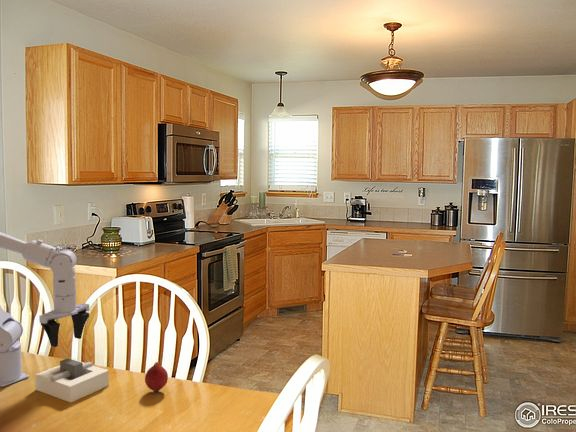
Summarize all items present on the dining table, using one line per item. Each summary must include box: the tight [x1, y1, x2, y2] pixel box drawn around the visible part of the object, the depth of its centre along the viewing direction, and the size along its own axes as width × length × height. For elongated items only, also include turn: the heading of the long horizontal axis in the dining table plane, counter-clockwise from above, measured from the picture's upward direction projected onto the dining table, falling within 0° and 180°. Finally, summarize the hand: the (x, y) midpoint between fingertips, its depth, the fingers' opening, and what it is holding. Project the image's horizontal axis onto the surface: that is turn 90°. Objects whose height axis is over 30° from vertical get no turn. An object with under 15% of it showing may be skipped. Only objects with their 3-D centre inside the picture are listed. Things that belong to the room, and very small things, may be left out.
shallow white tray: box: [34, 359, 110, 403], centre depth 141 cm, size 14×12×5 cm
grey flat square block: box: [59, 357, 84, 380], centre depth 141 cm, size 6×2×6 cm, turn 60°
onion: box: [144, 361, 169, 393], centre depth 139 cm, size 6×6×8 cm
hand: (66, 341), depth 147 cm, fingers open, 7 cm apart
